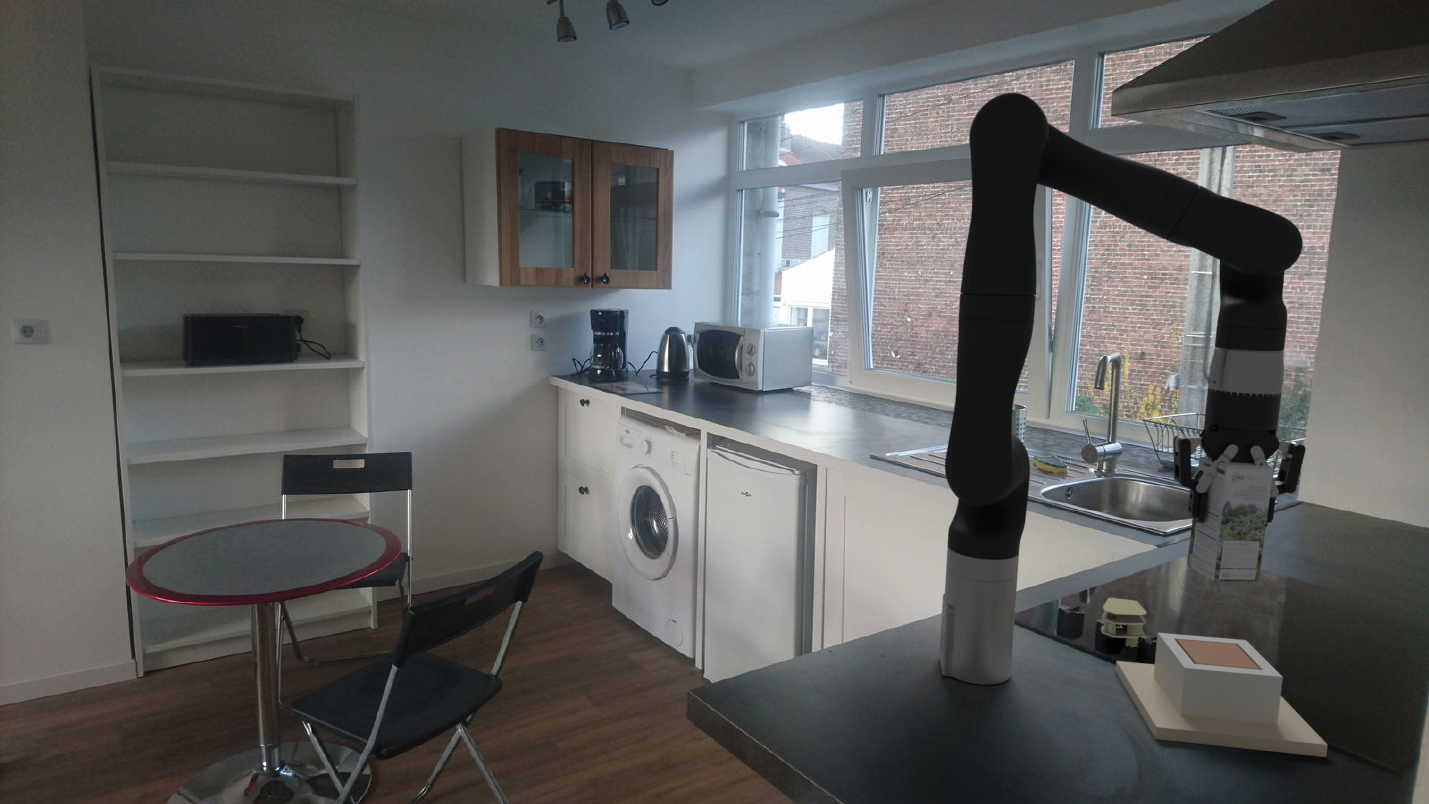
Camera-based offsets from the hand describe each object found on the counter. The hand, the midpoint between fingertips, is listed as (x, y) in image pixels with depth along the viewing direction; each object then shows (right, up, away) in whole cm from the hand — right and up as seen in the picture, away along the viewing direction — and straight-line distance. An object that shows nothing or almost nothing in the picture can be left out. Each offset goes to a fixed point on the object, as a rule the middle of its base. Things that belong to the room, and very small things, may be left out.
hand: (1229, 522), depth 105 cm
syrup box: (0, -7, +1) cm, 7 cm away
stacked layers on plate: (-2, -21, +24) cm, 33 cm away
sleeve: (0, -24, +3) cm, 24 cm away
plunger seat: (0, -18, +2) cm, 18 cm away
